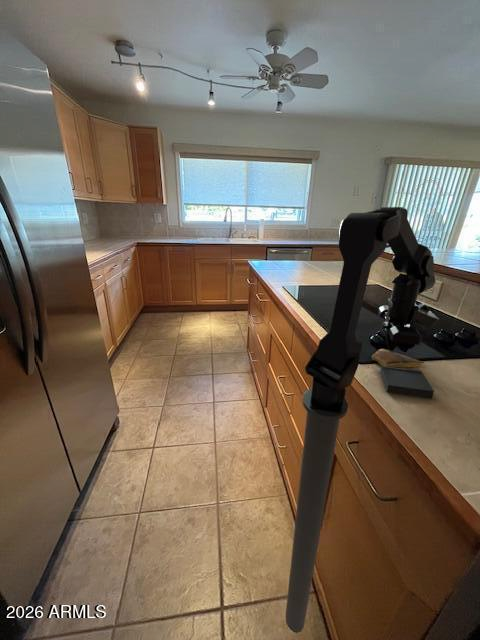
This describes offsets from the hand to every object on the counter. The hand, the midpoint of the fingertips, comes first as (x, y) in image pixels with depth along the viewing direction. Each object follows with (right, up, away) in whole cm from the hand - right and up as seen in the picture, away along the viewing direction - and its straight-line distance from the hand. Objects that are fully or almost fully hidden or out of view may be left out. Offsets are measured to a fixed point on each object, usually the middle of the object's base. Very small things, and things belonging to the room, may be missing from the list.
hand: (390, 350), depth 74 cm
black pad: (-4, -7, -12) cm, 14 cm away
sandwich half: (-1, -3, -2) cm, 3 cm away
